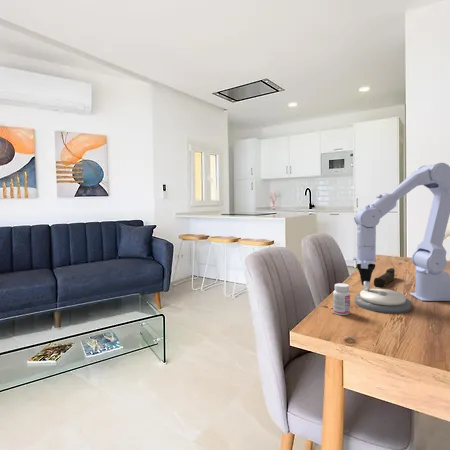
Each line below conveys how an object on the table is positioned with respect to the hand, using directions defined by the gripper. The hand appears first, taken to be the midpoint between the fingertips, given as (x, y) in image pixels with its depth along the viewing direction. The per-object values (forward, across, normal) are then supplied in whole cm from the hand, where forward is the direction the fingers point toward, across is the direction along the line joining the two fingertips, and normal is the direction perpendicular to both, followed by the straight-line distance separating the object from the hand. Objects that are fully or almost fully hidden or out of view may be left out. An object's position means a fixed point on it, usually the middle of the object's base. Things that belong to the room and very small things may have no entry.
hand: (365, 285), depth 108 cm
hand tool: (+5, -25, +6) cm, 26 cm away
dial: (+3, +4, +5) cm, 7 cm away
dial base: (+4, +4, +5) cm, 8 cm away
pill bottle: (+5, +17, -5) cm, 19 cm away
